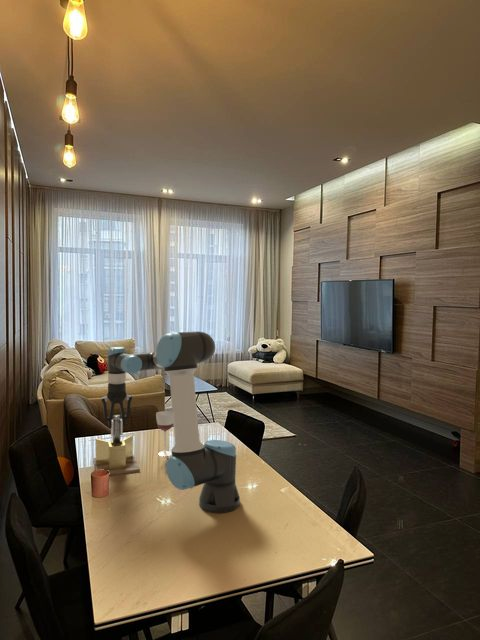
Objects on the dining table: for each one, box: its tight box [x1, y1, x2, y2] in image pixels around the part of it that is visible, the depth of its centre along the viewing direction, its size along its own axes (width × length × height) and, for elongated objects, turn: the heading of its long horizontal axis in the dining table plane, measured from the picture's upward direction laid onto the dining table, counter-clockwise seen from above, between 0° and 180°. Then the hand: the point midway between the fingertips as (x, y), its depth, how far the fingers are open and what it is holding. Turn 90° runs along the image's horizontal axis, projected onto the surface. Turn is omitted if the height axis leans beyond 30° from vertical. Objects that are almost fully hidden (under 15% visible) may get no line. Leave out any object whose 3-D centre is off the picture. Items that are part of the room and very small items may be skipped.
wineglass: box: [155, 410, 174, 457], centre depth 216 cm, size 8×9×20 cm
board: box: [93, 454, 141, 476], centre depth 200 cm, size 20×18×1 cm
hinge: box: [95, 434, 134, 469], centre depth 200 cm, size 13×17×10 cm
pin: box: [112, 414, 122, 444], centre depth 196 cm, size 3×3×12 cm
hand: (116, 434), depth 196 cm, fingers closed on pin, 3 cm apart
